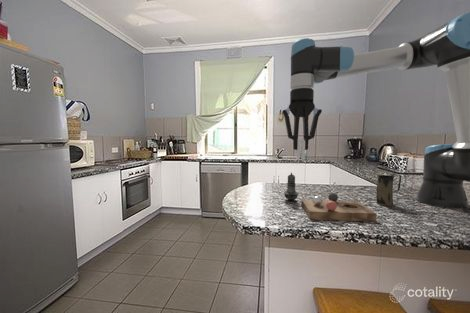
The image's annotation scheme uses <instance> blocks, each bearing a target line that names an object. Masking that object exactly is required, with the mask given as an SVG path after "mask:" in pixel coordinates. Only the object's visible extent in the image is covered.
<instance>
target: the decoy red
mask: <svg viewBox="0 0 470 313" xmlns="http://www.w3.org/2000/svg"><path fill="white" fill-rule="evenodd" d="M326 207H327V209H328V210H330V211H334V210H336V208H337V204H336V203H335V202H334V201H328V202H327V203H326Z"/></svg>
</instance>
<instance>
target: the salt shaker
mask: <svg viewBox="0 0 470 313" xmlns="http://www.w3.org/2000/svg"><path fill="white" fill-rule="evenodd" d="M296 184H297V183H296V176H295V175H294V174H293V173H292V172H290V174H288V176H287V183H286V185H287V189H286V191H284V192H283V194H284V198H286V199H285V200H283V201H284V203H286V204H298V202H299V201H298V200H296V199H297V198H298V196H299V192H297V191H296Z"/></svg>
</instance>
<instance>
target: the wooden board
mask: <svg viewBox="0 0 470 313" xmlns="http://www.w3.org/2000/svg"><path fill="white" fill-rule="evenodd" d="M312 200H313V199H301V200H300V201H301V203H300V204H301V205H300V206H301V208H302V210H303V211H304V213H305V214H306V216H307V217H308V219H309V220H320V221H321V220H326V221H327V220H329V221H350V222H351V221H354V222H377V214H378V213H376V212H375V211H373V210H372V209H370V208H369V207H367V206H365V205H364V204H362V203H361V202H359V201H357V200H337V201H335V203H336V204H337V208H336V210H334V211H330V210H328V209H327V207H326V203H327V202H328V201H330V200H329V199H328V200H326V199H324V200H323V199H322V204H321V205H319V206H317V205H314V204H313V202H312Z"/></svg>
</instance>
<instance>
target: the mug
mask: <svg viewBox="0 0 470 313" xmlns="http://www.w3.org/2000/svg"><path fill="white" fill-rule="evenodd" d="M396 175H397V176H398V177H399V178H398V186H397V189H396V190H394V188H393V186H394V179H395V176H396ZM376 183H377V184H376V193H375V194H376V196H375V197H376V205H379V206H383V207H393V206H394V198H393V196H394V194H393V193H398V192H400V188H401V183H402V175H401V174H398V173H392V174H391V175H387V174H385V175H383V174H379V175H378V177H377V182H376Z"/></svg>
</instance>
